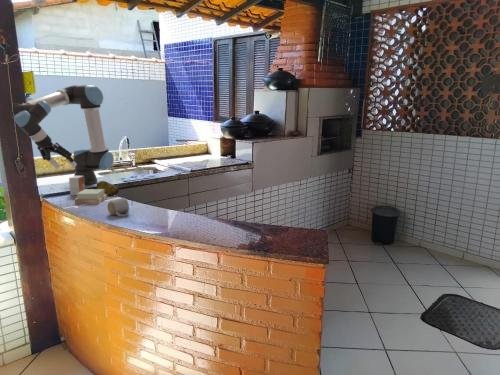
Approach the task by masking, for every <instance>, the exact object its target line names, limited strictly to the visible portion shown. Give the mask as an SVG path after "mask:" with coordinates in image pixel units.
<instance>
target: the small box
mask: <svg viewBox="0 0 500 375" xmlns="http://www.w3.org/2000/svg"><path fill="white" fill-rule="evenodd" d="M68 182H69V191H70V196H77V193H79V192H81V191H83V190H84V189H86V185H85V180H84V176H71V177H69V178H68Z"/></svg>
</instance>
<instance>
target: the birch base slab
mask: <svg viewBox="0 0 500 375" xmlns="http://www.w3.org/2000/svg"><path fill="white" fill-rule="evenodd" d="M107 199H108V195H107V194H104V195H103V196H101V197H100V198H98V199H77V197H76V198H74V204H75V205H76V204H82V205H83V204H84V205H85V204H88V205H91V204H94V205H98V204H99V205H100V204H101V203H102V202H104V201H105V200H107Z"/></svg>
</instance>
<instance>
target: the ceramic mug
mask: <svg viewBox="0 0 500 375" xmlns="http://www.w3.org/2000/svg"><path fill="white" fill-rule="evenodd" d="M129 210H130V206H129V202H128V200H127V199H126V198H125V197H121V198H117V199H114V200H110V201H109V202H108V203H107V211H108V213H109V214H110V215H111V216H118V217H121V218H125V217H127V216H128V215H129V213H130V212H129Z"/></svg>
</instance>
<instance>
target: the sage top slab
mask: <svg viewBox="0 0 500 375" xmlns="http://www.w3.org/2000/svg"><path fill="white" fill-rule="evenodd" d="M104 194H105V191H104V189H97V188H90V189H89V188H85V189H84V190H83V191H81V192H79V193H77V195H76V198H77V199H98V198H100V197H101V196H103V195H104Z"/></svg>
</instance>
